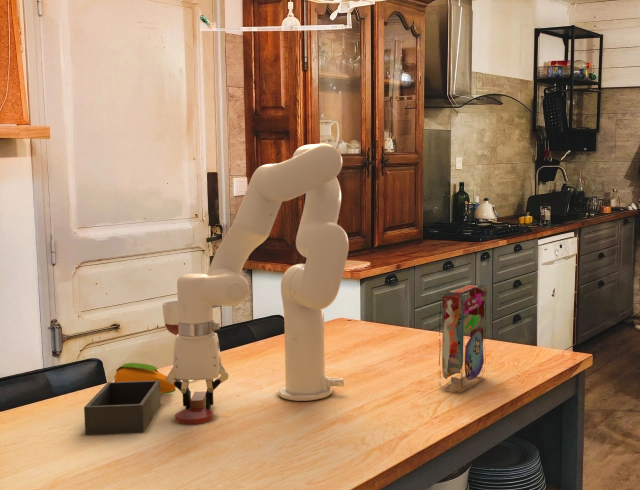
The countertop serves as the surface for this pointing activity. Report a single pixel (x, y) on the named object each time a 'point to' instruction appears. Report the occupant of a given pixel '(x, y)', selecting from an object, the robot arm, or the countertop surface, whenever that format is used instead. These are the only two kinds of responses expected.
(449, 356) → the box
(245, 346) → the countertop surface
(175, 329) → the wineglass
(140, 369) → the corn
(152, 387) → the bin
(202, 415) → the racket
